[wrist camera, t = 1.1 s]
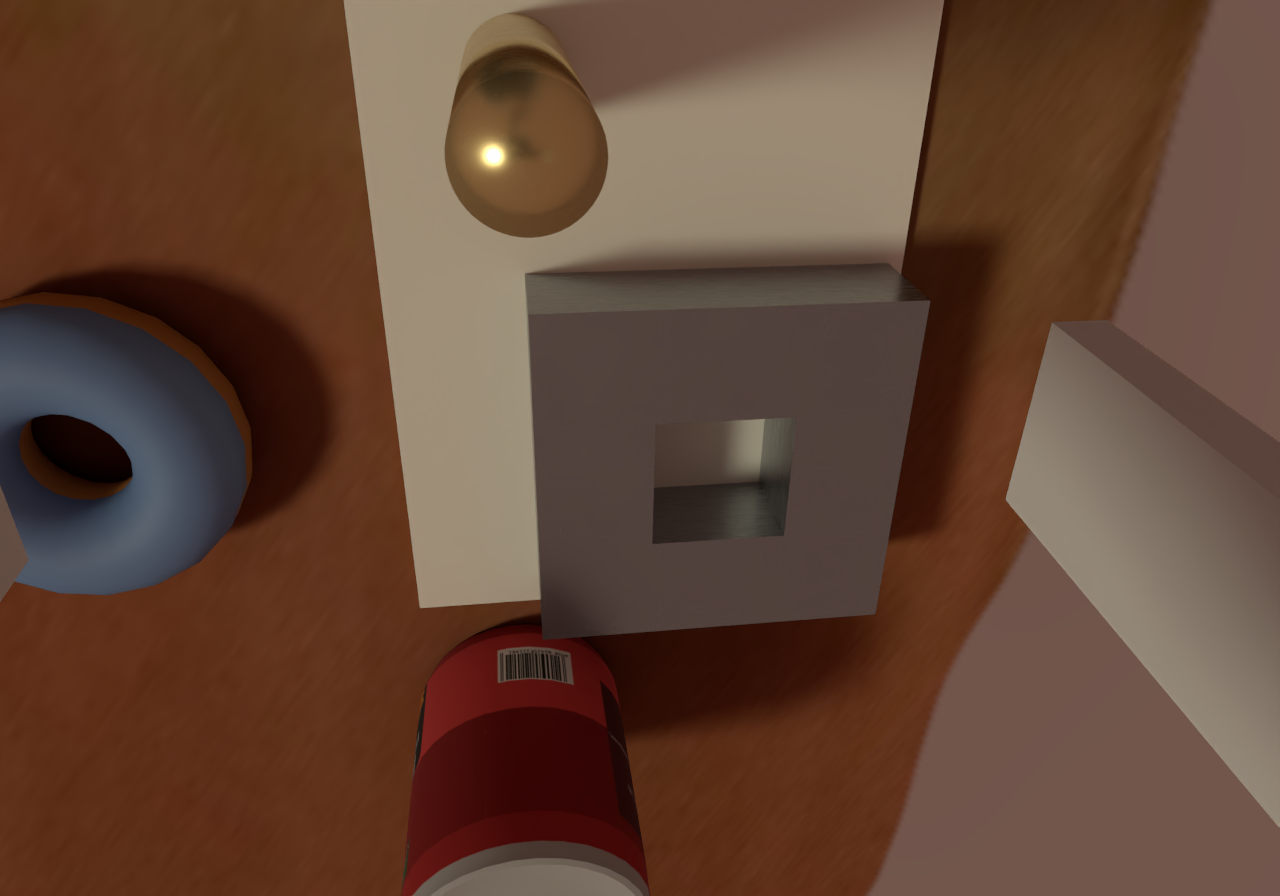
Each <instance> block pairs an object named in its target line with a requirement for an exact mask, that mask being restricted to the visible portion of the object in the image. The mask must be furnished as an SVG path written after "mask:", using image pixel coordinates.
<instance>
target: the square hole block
mask: <svg viewBox="0 0 1280 896" xmlns="http://www.w3.org/2000/svg"><path fill="white" fill-rule="evenodd" d="M525 293H526V315H527V336H528V358H529V380H530V401H531V423H532V444H533V466H534V488H535V509H536V531H537V552H538V574H539V590H540V605H541V620H542V634H543V640H549V639H562V638H575V637H588V636H601V635H614V634H627V633H639V632H652V631H665V630H678V629H691V628H704V627H717V626H730V625H743V624H756V623H769V622H782V621H795V620H808V619H820V618H833V617H846V616H859V615H872V614H875V613H876V607H877V602H878V596H879V590H880V585H881V579H882V573H883V567H884V562H885V556H886V550H887V545H888V539H889V533H890V528H891V522H892V516H893V511H894V505H895V499H896V494H897V488H898V482H899V477H900V471H901V465H902V460H903V454H904V448H905V443H906V437H907V431H908V425H909V420H910V414H911V408H912V403H913V397H914V391H915V386H916V380H917V374H918V369H919V363H920V357H921V352H922V346H923V340H924V335H925V329H926V323H927V318H928V312H929V306H930V300H929V299H928V298H927V297H926V296H925V295H924V294H923V293H921V292H920V291H919V290H918V289H917V288H916V287H915V286H914V285H912V284H911V283H910V282H909V281H908V280H907V279H906V278H905V277H903V276H902V275H901V274H900V273H899V272H898V271H897V270H896V269H894V268H893V267H892V266H891V265H890V264H889V263H875V264H841V265H807V266H773V267H739V268H705V269H670V270H636V271H602V272H568V273H534V274H525ZM755 419H765V420H764V431H763V442H762V453H761V464H760V476H759V482H744V483H727V484H710V485H693V486H676V487H658V488H654V462H655V425H656V424H675V423H695V422H715V421H735V420H755Z"/></svg>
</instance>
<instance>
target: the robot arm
mask: <svg viewBox="0 0 1280 896" xmlns="http://www.w3.org/2000/svg"><path fill="white" fill-rule="evenodd" d="M1006 501H1007V502H1008V503H1009V504H1010V506H1011V507H1012V508H1013V509H1014V510H1015V512H1016V513H1017V514H1018V515H1019V516H1020V518H1021V519H1022V520H1023V521H1024V522H1025V524H1026V525H1027V526H1028V527H1029V528H1030V530H1031V531H1032V532H1033V533H1034V534H1035V536H1036V537H1037V538H1038V539H1039V540H1040V542H1041V543H1042V544H1043V545H1044V546H1045V548H1046V549H1047V550H1048V551H1049V552H1050V554H1051V555H1052V556H1053V557H1054V558H1055V560H1057V562H1058V563H1059V564H1060V565H1061V567H1062V568H1063V569H1064V570H1065V571H1066V573H1067V574H1068V575H1069V576H1070V577H1071V579H1072V580H1073V581H1074V582H1075V583H1076V585H1077V586H1078V587H1079V588H1080V589H1081V591H1082V592H1083V593H1084V594H1085V595H1086V597H1087V598H1088V599H1089V600H1090V601H1091V603H1092V604H1093V605H1094V606H1095V607H1096V609H1097V610H1098V611H1099V612H1100V613H1101V615H1102V616H1103V617H1104V618H1105V619H1106V621H1107V622H1108V623H1109V624H1110V625H1111V627H1112V628H1113V629H1114V630H1115V631H1116V633H1117V634H1118V635H1119V636H1120V637H1121V638H1122V639H1123V641H1124V642H1125V643H1126V645H1128V647H1129V648H1130V649H1131V651H1132V652H1133V653H1134V654H1135V655H1136V656H1137V658H1138V659H1139V660H1140V661H1141V662H1142V664H1143V665H1144V666H1145V667H1146V668H1147V670H1148V671H1149V672H1150V673H1151V674H1152V676H1153V677H1154V678H1155V679H1156V680H1157V682H1158V683H1159V684H1160V685H1161V686H1162V688H1163V689H1164V690H1165V691H1166V692H1167V694H1168V695H1169V696H1170V697H1171V698H1172V700H1173V701H1174V702H1175V703H1176V704H1177V705H1178V707H1179V708H1180V709H1181V710H1182V712H1183V713H1184V714H1185V715H1186V716H1187V717H1188V719H1189V720H1190V721H1191V722H1192V723H1193V725H1194V726H1195V727H1196V728H1197V730H1198V731H1199V732H1200V733H1201V734H1202V735H1203V737H1204V738H1205V739H1206V740H1207V741H1208V743H1209V744H1210V745H1211V746H1212V747H1213V749H1214V750H1215V751H1216V752H1217V753H1218V754H1219V756H1220V757H1221V758H1222V759H1223V761H1224V762H1225V763H1226V764H1227V765H1228V767H1229V768H1230V769H1231V770H1232V771H1233V773H1234V774H1235V775H1236V776H1237V777H1238V779H1239V780H1240V781H1241V782H1242V783H1243V785H1244V786H1245V787H1246V788H1247V789H1248V790H1249V792H1250V793H1251V794H1252V795H1253V796H1254V798H1255V799H1256V800H1257V801H1258V802H1259V804H1260V805H1261V806H1262V807H1263V809H1264V810H1265V811H1266V812H1267V813H1268V814H1269V816H1270V817H1271V818H1272V819H1273V820H1274V822H1275V823H1276V824H1277V825H1278V826H1279V828H1280V442H1278V441H1277V440H1276V439H1274V438H1273V437H1271V436H1270V435H1269V434H1267V433H1266V432H1264V431H1263V430H1261V429H1260V428H1259V427H1257V426H1256V425H1254V424H1253V423H1252V422H1250V421H1249V420H1247V419H1246V418H1244V417H1243V416H1242V415H1240V414H1239V413H1237V412H1236V411H1235V410H1233V409H1232V408H1230V407H1229V406H1227V405H1226V404H1225V403H1223V402H1222V401H1221V400H1219V399H1217V398H1216V397H1215V396H1213V395H1212V394H1211V393H1209V392H1208V391H1206V390H1205V389H1203V388H1202V387H1201V386H1199V385H1198V384H1197V383H1195V382H1194V381H1192V380H1191V379H1189V378H1188V377H1187V376H1185V375H1184V374H1182V373H1181V372H1180V371H1178V370H1177V369H1175V368H1174V367H1172V366H1171V365H1170V364H1168V363H1167V362H1165V361H1164V360H1162V359H1161V358H1160V357H1158V356H1157V355H1155V354H1154V353H1153V352H1151V351H1150V350H1148V349H1147V348H1146V347H1144V346H1143V345H1141V344H1140V343H1139V342H1137V341H1136V340H1134V339H1133V338H1131V337H1130V336H1129V335H1127V334H1126V333H1124V332H1123V331H1122V330H1120V329H1119V328H1117V327H1116V326H1115V325H1113V324H1112V323H1110V322H1109V321H1108V320H1100V321H1073V322H1052V325H1051V328H1050V332H1049V336H1048V340H1047V344H1046V347H1045V351H1044V355H1043V359H1042V363H1041V367H1040V370H1039V374H1038V378H1037V382H1036V386H1035V389H1034V393H1033V397H1032V401H1031V405H1030V409H1029V412H1028V416H1027V420H1026V424H1025V428H1024V431H1023V435H1022V439H1021V443H1020V447H1019V451H1018V454H1017V458H1016V462H1015V466H1014V470H1013V473H1012V477H1011V481H1010V485H1009V489H1008V493H1007V496H1006ZM28 560H29V559H28V556H27V554H26V551H25V548H24V546H23V543H22V541H21V538H20V535H19V533H18V530H17V528H16V525H15V523H14V520H13V517H12V515H11V512H10V510H9V507H8V504H7V502H6V499H5V497H4V494H3V492H2V489H1V486H0V601H1V600H2V598H3V597H4V596H5V594H6V593H7V591H8V590H9V588H10V587H11V585H12V584H13V582H14V581H15V579H16V578H17V577H18V575H19V574H20V572H21V571H22V569H23V568H24V566H25V565H26V563H27V562H28Z"/></svg>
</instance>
